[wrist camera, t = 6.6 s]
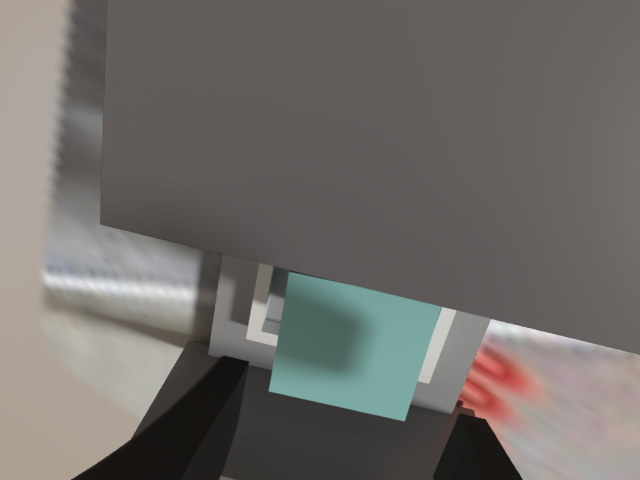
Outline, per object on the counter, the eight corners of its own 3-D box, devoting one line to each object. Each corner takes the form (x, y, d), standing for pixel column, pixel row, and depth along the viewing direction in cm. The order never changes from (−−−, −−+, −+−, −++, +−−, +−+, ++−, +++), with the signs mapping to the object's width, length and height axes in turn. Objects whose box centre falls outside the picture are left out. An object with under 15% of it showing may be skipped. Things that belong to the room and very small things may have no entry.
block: (428, 228, 18) (442, 304, 14) (401, 325, 20) (404, 421, 15) (314, 204, 18) (288, 271, 14) (296, 302, 20) (268, 391, 16)
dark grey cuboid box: (561, 227, 19) (660, 359, 12) (204, 143, 19) (100, 224, 12) (708, -107, 14) (993, -199, 8) (244, -209, 15) (119, -387, 8)
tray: (467, 424, 22) (493, 562, 17) (187, 355, 22) (122, 469, 17) (560, 209, 18) (634, 300, 13) (214, 127, 18) (141, 182, 13)
